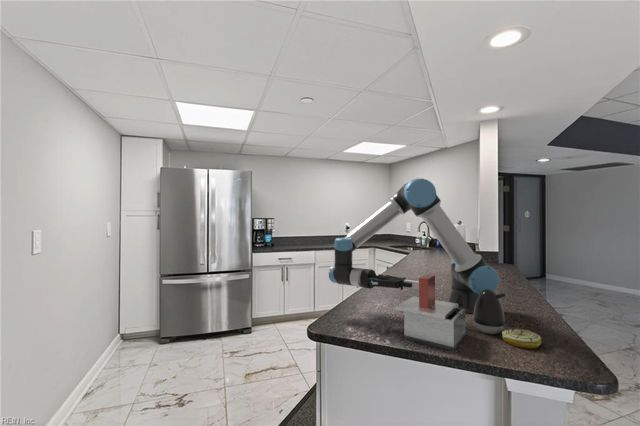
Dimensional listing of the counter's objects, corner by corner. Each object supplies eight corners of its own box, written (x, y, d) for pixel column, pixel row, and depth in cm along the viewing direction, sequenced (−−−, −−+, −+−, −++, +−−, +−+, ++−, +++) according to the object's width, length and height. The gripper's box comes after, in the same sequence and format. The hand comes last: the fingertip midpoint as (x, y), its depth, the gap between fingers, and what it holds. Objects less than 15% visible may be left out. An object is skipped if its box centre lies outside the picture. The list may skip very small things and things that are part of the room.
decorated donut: (507, 334, 109) (507, 324, 109) (544, 343, 101) (544, 332, 101) (498, 343, 101) (498, 331, 102) (537, 353, 94) (537, 341, 94)
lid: (395, 309, 107) (395, 277, 107) (413, 299, 120) (412, 270, 121) (445, 319, 97) (444, 283, 97) (458, 307, 110) (458, 275, 110)
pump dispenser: (505, 339, 104) (505, 294, 104) (471, 333, 110) (471, 290, 110) (506, 330, 113) (505, 288, 113) (474, 324, 118) (474, 285, 118)
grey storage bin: (404, 338, 106) (404, 311, 106) (420, 324, 118) (420, 301, 118) (453, 350, 96) (453, 321, 96) (465, 334, 108) (465, 309, 109)
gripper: (371, 284, 129) (428, 292, 115) (355, 290, 119) (415, 300, 104) (371, 266, 129) (427, 272, 115) (355, 271, 119) (415, 278, 104)
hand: (421, 286), depth 110 cm, fingers closed
